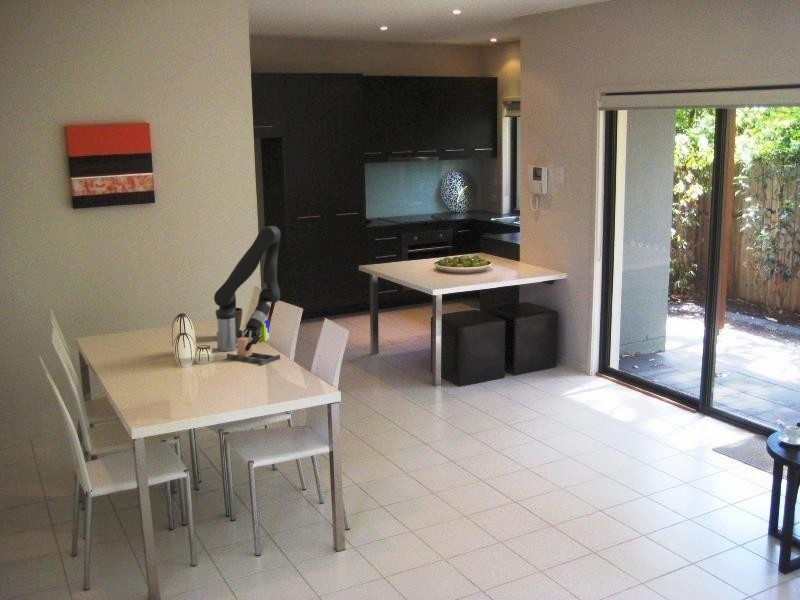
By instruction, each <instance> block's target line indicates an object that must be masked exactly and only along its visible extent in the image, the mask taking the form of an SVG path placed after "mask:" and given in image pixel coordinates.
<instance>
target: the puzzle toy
mask: <svg viewBox="0 0 800 600" xmlns="http://www.w3.org/2000/svg"><path fill="white" fill-rule="evenodd" d="M269 321H270V320H268V319H267V320H265V322H264V324H263V326H262V328H261V330H260V332H259V333H260V334H261V335H262V337H261V338H260V339H259V341H261V342H260V343H264V342H267V340H269V339H270V326H269V325H270V322H269ZM246 325H247V323H246ZM246 325H245V326H246ZM255 341H256V340H255Z"/></svg>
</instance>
